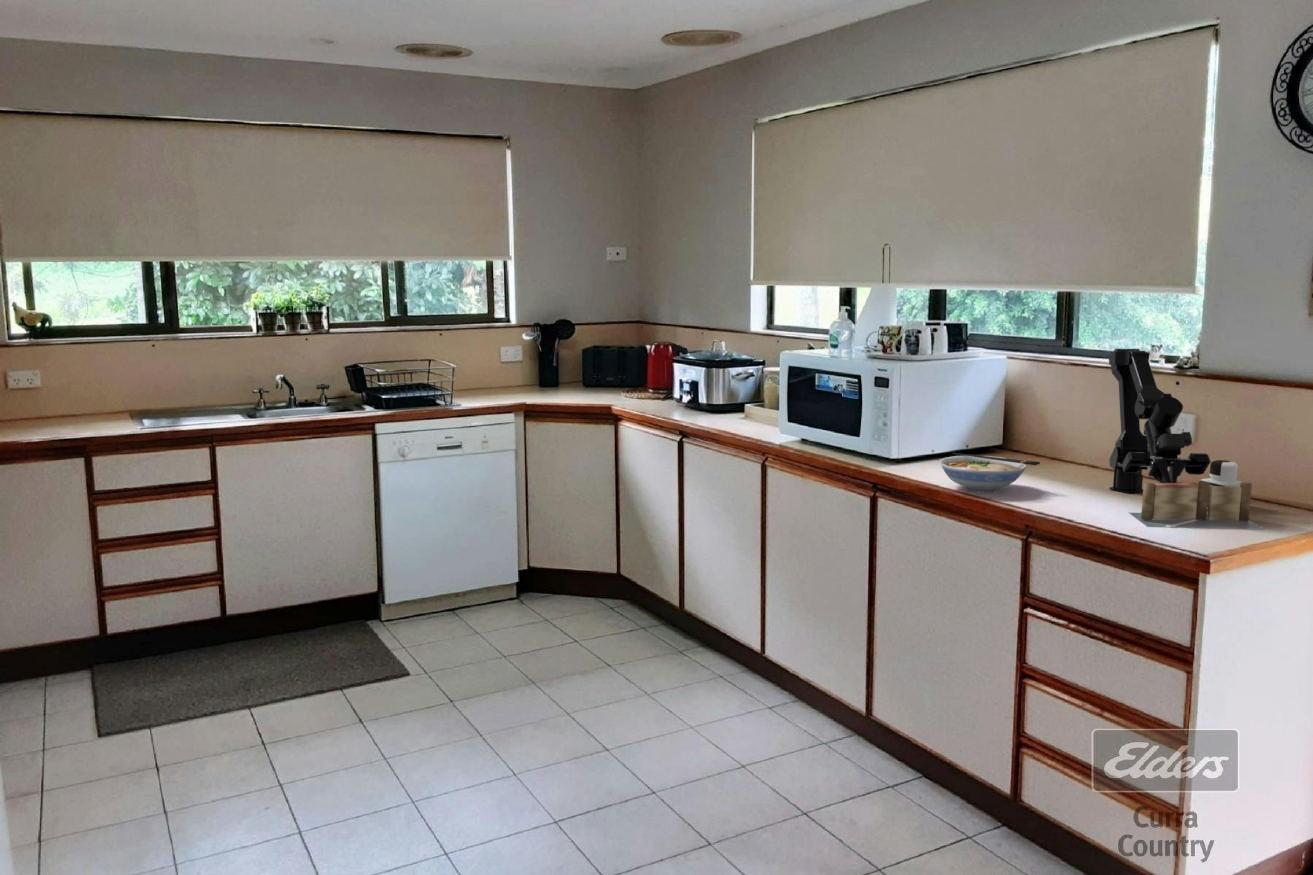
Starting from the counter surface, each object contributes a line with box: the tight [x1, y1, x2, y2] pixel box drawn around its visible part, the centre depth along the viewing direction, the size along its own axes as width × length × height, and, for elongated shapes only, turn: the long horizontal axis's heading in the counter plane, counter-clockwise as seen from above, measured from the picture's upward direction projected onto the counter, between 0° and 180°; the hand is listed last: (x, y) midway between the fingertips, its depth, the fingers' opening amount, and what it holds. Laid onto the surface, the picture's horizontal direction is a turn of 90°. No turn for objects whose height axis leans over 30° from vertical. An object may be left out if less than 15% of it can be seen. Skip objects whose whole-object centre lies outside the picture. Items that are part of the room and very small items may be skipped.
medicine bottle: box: [1200, 459, 1243, 508], centre depth 258 cm, size 7×7×12 cm
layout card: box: [1128, 512, 1267, 531], centre depth 245 cm, size 26×14×1 cm, turn 83°
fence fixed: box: [1195, 480, 1253, 521], centre depth 245 cm, size 12×2×9 cm, turn 83°
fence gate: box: [1140, 482, 1199, 520], centre depth 245 cm, size 13×2×9 cm, turn 94°
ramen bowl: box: [939, 452, 1041, 493], centre depth 282 cm, size 25×23×8 cm
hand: (1172, 492), depth 246 cm, fingers closed
